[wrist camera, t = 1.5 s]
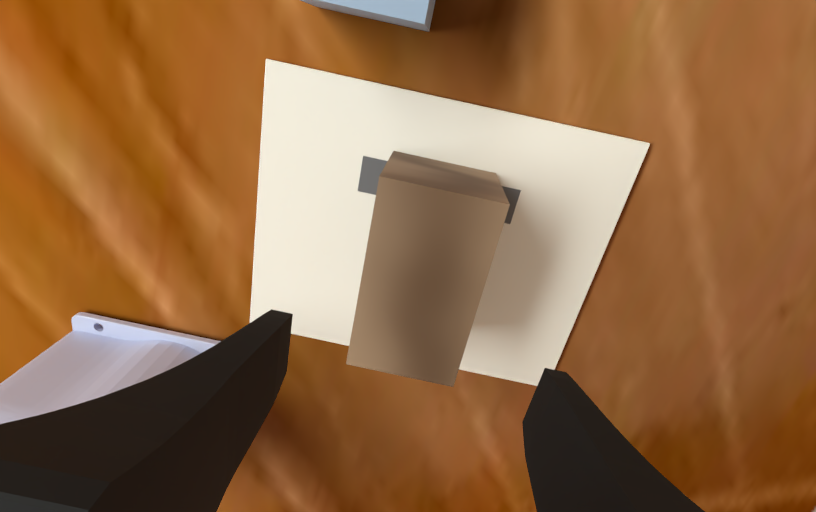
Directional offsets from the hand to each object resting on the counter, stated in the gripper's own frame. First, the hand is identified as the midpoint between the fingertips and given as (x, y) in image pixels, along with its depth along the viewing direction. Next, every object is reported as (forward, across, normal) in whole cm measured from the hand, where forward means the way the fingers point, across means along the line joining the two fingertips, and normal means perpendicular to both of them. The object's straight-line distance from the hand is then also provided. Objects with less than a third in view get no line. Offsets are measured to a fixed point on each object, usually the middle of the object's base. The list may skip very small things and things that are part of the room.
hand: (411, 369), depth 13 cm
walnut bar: (+9, 0, 0) cm, 9 cm away
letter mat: (+9, 0, 0) cm, 9 cm away
